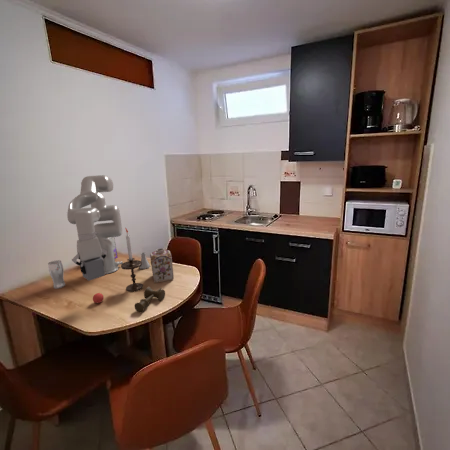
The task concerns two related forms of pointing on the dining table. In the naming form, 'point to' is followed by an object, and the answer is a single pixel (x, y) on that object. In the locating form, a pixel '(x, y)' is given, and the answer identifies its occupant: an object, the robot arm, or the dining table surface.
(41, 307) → the dining table surface
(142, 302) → the kendama
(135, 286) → the candlestick
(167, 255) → the decorative jar
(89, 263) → the matte gray cube
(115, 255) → the white carton
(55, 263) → the beer glass
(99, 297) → the ball
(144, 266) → the flask
